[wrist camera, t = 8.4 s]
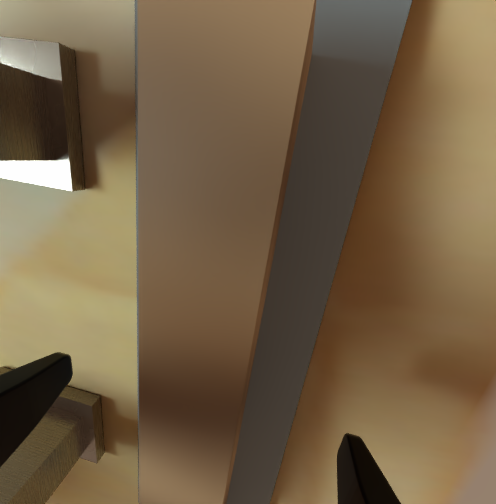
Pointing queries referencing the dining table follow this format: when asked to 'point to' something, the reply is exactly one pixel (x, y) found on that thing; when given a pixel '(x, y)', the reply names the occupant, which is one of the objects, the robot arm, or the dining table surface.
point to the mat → (310, 220)
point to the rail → (208, 222)
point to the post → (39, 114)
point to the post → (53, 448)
